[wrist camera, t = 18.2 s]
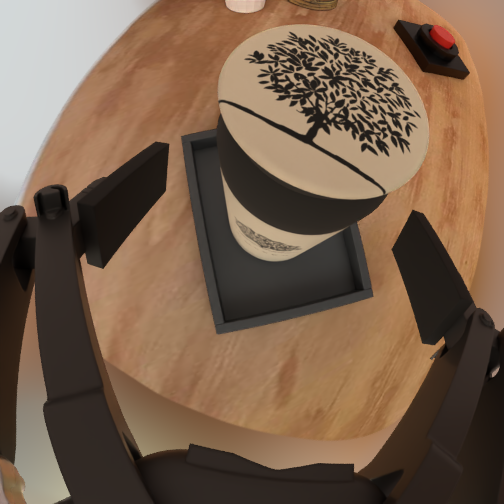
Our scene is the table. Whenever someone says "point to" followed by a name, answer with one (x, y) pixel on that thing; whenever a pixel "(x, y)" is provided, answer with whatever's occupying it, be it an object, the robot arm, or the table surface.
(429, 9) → the table surface
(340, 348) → the table surface
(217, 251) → the tray
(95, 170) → the table surface
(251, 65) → the travel mug
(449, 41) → the button
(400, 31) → the control block
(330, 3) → the wooden mug
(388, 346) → the table surface
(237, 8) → the white cup
